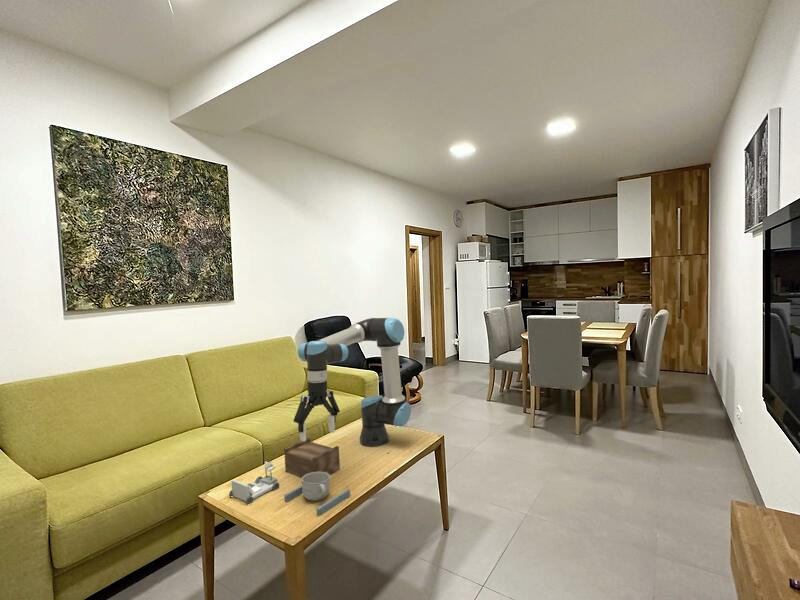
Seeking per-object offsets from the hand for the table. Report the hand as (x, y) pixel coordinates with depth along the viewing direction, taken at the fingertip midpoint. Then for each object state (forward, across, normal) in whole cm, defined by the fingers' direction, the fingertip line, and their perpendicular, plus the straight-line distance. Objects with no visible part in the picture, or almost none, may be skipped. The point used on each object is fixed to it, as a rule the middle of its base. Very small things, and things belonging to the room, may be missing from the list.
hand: (317, 436), depth 155 cm
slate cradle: (+24, -1, -1) cm, 24 cm away
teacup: (+24, -1, -1) cm, 24 cm away
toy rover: (+25, -12, +24) cm, 37 cm away
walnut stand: (+22, +12, +21) cm, 33 cm away
